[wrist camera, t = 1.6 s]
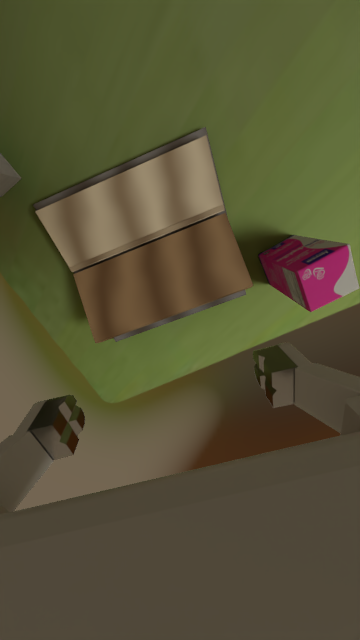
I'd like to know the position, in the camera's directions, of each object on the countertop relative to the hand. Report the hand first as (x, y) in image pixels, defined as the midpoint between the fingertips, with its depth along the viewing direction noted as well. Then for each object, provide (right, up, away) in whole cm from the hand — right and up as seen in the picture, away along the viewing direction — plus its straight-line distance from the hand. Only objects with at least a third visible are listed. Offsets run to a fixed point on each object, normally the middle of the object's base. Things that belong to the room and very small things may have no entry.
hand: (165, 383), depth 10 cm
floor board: (-3, +13, +22) cm, 26 cm away
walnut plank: (-2, +8, +20) cm, 22 cm away
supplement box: (+16, +12, +24) cm, 32 cm away
